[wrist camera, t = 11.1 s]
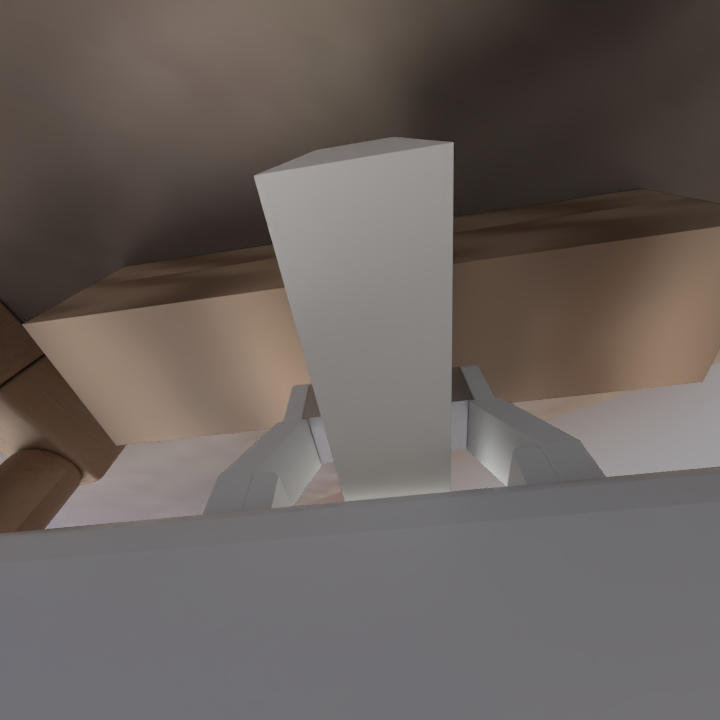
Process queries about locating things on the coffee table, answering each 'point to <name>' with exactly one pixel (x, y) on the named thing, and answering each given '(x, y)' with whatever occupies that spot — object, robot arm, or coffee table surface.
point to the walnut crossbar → (469, 317)
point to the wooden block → (42, 434)
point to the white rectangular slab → (373, 303)
